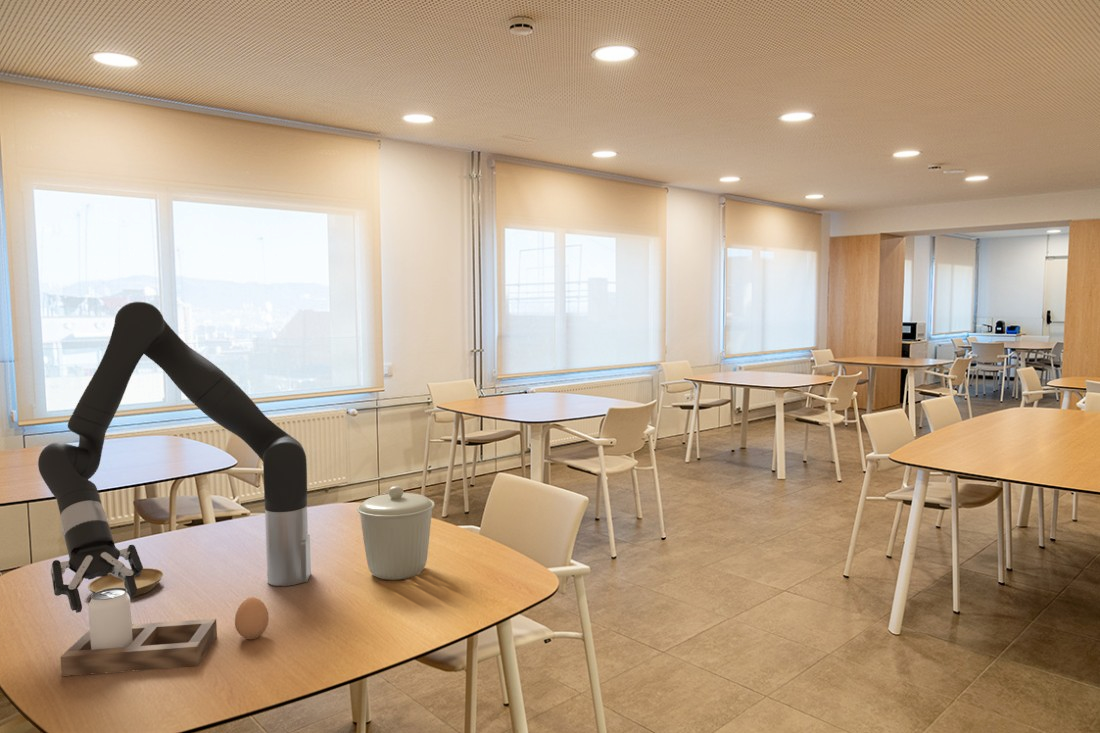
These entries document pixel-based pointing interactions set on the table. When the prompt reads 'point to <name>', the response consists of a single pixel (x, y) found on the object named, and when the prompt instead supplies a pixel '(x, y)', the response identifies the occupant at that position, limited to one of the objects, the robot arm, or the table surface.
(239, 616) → the egg
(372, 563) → the canister
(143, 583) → the plant saucer
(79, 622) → the table surface
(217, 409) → the robot arm
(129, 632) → the can
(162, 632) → the rack
